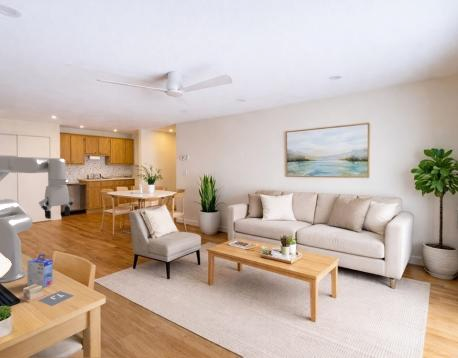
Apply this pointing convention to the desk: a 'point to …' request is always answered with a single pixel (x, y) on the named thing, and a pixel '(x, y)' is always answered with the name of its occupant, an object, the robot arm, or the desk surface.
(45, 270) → the ink cartridge box
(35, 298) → the terracotta tile
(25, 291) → the maple block
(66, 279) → the desk surface
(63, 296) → the gray board
